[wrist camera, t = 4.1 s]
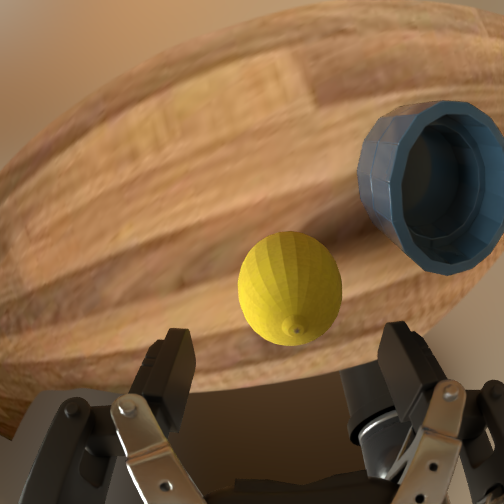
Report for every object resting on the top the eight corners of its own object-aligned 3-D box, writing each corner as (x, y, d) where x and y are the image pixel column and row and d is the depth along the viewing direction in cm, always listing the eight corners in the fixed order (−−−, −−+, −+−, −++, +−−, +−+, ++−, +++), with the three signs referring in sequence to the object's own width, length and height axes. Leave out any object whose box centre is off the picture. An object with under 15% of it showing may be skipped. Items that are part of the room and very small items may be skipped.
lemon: (321, 292, 20) (345, 373, 12) (243, 290, 20) (232, 373, 13) (330, 217, 18) (371, 273, 10) (243, 213, 18) (228, 270, 11)
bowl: (465, 229, 17) (508, 257, 12) (361, 250, 19) (391, 291, 13) (458, 107, 14) (509, 107, 9) (343, 110, 15) (376, 100, 10)
